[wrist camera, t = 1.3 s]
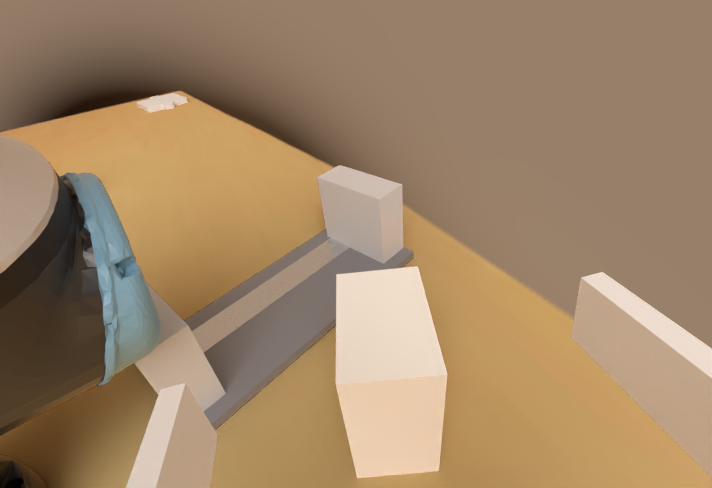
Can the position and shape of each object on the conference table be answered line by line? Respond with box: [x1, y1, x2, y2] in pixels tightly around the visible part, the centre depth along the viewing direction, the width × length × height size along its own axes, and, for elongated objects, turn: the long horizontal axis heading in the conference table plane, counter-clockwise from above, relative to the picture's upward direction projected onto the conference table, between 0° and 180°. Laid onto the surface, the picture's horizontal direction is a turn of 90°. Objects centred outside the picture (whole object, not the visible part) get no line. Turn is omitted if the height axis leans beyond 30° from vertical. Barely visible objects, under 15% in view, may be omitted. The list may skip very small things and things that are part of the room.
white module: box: [336, 266, 447, 478], centre depth 27 cm, size 6×9×12 cm, turn 2°
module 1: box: [134, 281, 226, 412], centre depth 31 cm, size 4×10×9 cm, turn 47°
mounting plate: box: [136, 93, 188, 113], centre depth 126 cm, size 18×13×2 cm
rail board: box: [184, 229, 413, 430], centre depth 41 cm, size 30×13×1 cm, turn 137°
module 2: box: [317, 165, 404, 264], centre depth 46 cm, size 4×10×9 cm, turn 47°
